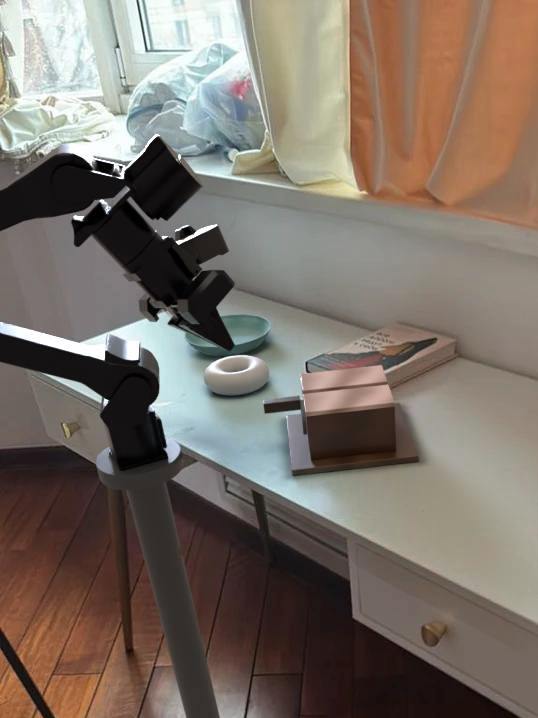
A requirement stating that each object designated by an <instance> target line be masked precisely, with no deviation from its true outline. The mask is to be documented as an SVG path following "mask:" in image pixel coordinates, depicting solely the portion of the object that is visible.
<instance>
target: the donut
mask: <svg viewBox="0 0 538 718" xmlns="http://www.w3.org/2000/svg"><path fill="white" fill-rule="evenodd" d="M269 378H270V368H269V366H268V365H267V364H266V362H265V361H264V360H263V359H261V358H259V357H257V356H252V355H246V354H245V355H244V354H238V355H233V356H224V357H223V358H219V359H217V360H216V361H213V362H211V364H209V365H208V367H206V369H205V371H204V374H203V381H204V384H205V386H206V387H207V388H208V389H209V390H210V391H211V392H212V393H214V394H217V395H221V396H232V397H233V396H242V395H247V394H250V393H252V392H255V391H258V390H260V389H261V388H262V387H263V386H265V384H266V383H267V382H268V381H269Z"/></svg>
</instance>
